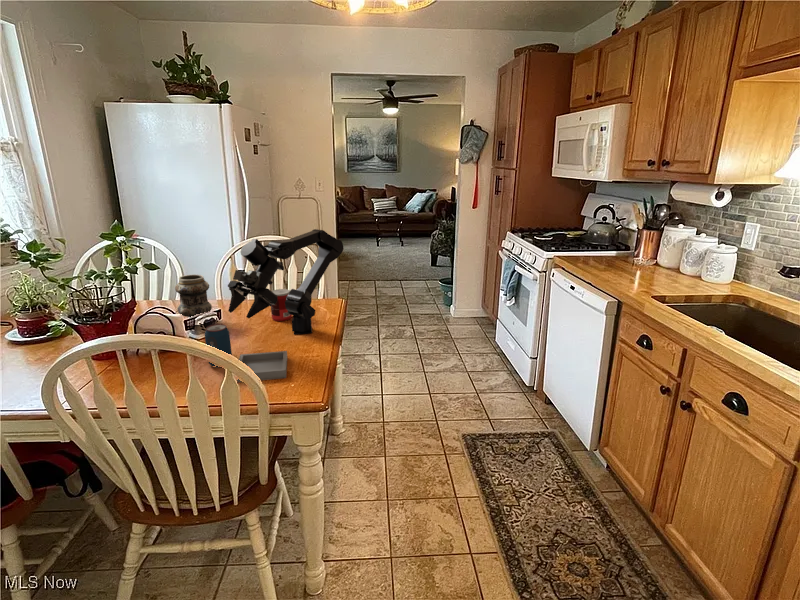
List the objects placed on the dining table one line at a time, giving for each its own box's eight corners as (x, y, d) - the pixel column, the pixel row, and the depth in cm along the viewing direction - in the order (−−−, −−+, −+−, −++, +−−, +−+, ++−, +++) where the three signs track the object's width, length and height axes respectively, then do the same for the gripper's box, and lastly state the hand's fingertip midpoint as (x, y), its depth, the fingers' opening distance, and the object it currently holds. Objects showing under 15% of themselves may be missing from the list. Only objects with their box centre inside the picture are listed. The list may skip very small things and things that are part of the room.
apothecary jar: (217, 322, 174) (212, 277, 169) (184, 329, 167) (177, 282, 161) (208, 314, 183) (202, 271, 178) (175, 321, 176) (169, 276, 170)
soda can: (231, 357, 144) (227, 321, 140) (234, 365, 138) (229, 329, 135) (207, 361, 141) (202, 325, 138) (209, 370, 135) (204, 332, 132)
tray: (287, 358, 144) (286, 350, 143) (286, 378, 131) (285, 370, 130) (241, 361, 141) (240, 354, 140) (235, 382, 128) (234, 374, 127)
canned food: (294, 315, 183) (292, 288, 180) (289, 321, 176) (287, 294, 172) (275, 314, 183) (273, 288, 180) (269, 321, 176) (267, 294, 172)
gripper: (229, 256, 146) (202, 296, 141) (267, 263, 136) (239, 307, 131) (252, 274, 155) (227, 313, 150) (289, 283, 144) (263, 325, 139)
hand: (238, 314), depth 142 cm, fingers open, 9 cm apart
